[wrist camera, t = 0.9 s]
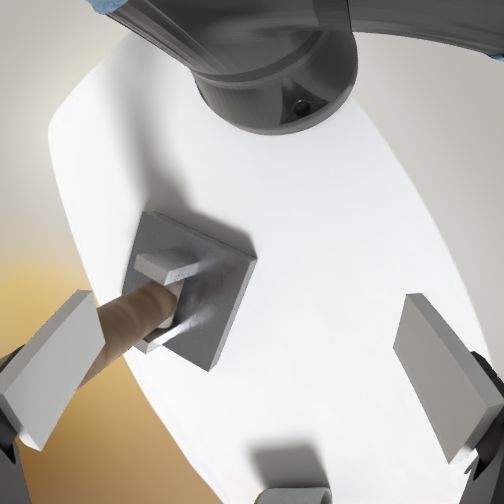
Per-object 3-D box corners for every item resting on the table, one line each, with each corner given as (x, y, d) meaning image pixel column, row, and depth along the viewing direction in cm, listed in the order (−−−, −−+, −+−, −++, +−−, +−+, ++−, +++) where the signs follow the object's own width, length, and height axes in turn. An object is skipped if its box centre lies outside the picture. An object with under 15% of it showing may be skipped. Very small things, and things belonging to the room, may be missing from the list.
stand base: (154, 211, 32) (106, 212, 25) (257, 258, 29) (226, 272, 22) (128, 310, 35) (84, 328, 28) (216, 363, 32) (182, 397, 25)
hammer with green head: (159, 262, 29) (-116, 386, 4) (193, 277, 29) (-80, 453, 4) (147, 307, 30) (-81, 456, 5) (178, 323, 30) (-39, 510, 5)
